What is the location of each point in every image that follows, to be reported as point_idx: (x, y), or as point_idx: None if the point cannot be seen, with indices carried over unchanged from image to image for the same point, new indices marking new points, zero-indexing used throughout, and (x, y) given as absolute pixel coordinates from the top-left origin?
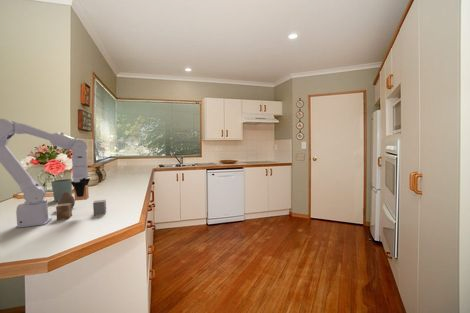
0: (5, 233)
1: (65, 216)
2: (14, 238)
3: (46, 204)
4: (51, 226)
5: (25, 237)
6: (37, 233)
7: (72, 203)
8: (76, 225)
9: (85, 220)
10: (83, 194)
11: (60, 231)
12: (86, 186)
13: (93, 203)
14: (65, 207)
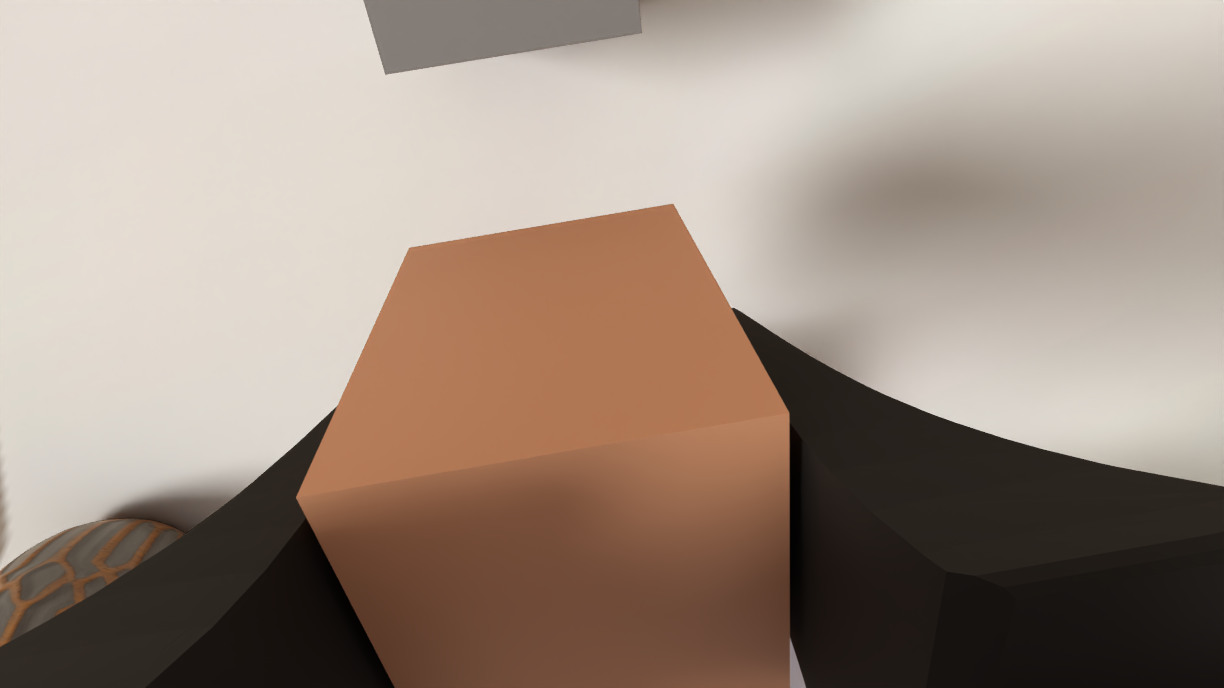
0: None
1: None
2: None
3: (792, 676)
4: (917, 380)
5: (1153, 433)
6: (1095, 395)
7: (107, 558)
8: (1055, 95)
9: (859, 54)
10: None
11: (1191, 198)
12: (646, 424)
13: (639, 22)
14: None
